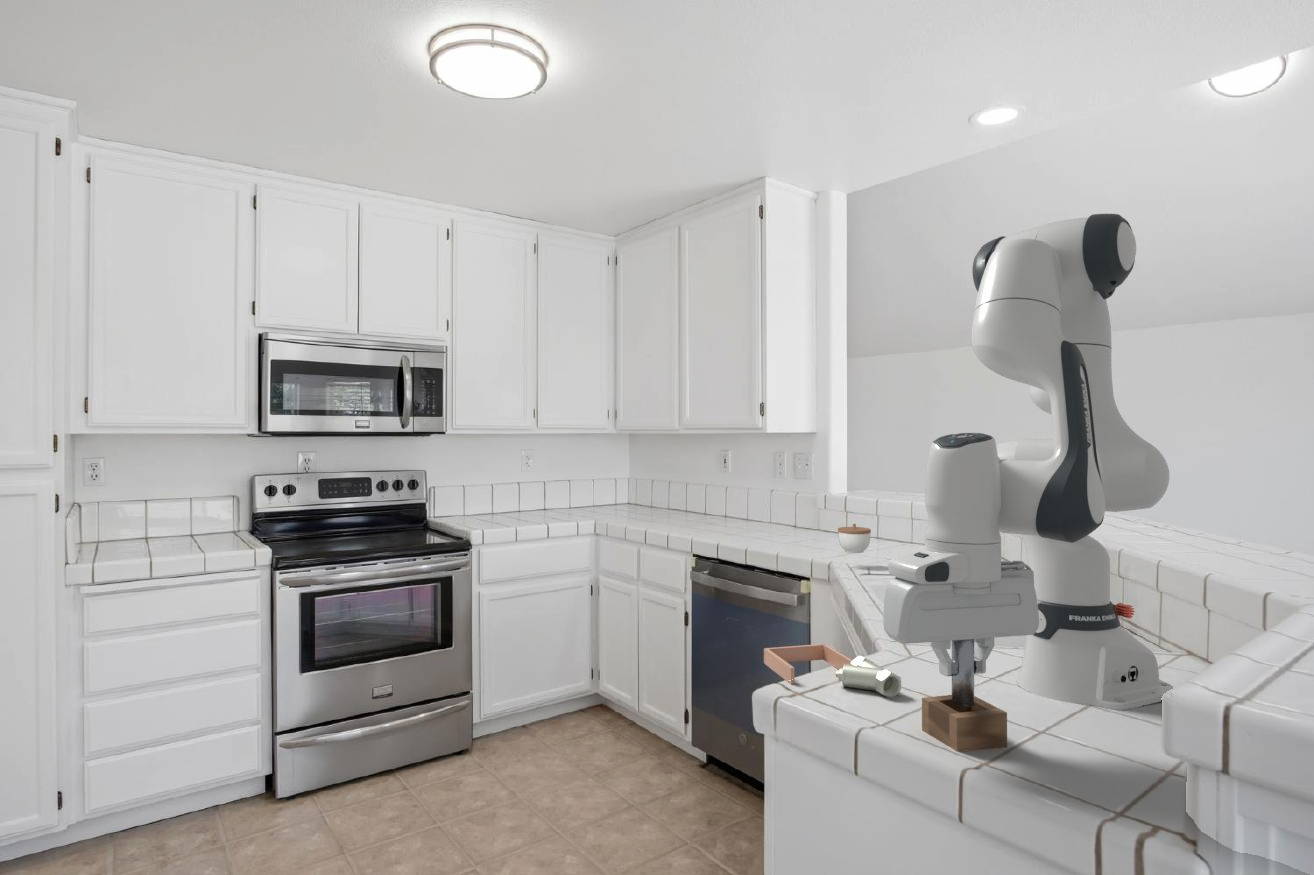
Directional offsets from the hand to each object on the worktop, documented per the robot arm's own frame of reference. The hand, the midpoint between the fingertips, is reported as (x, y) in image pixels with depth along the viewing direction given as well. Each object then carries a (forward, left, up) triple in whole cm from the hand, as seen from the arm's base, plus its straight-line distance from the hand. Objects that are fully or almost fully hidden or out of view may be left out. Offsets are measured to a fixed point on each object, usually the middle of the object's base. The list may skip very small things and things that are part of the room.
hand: (962, 673), depth 90 cm
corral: (+6, -30, -8) cm, 32 cm away
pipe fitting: (+5, -20, -7) cm, 21 cm away
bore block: (0, 0, -8) cm, 8 cm away
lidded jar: (-64, -142, -9) cm, 156 cm away
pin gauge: (0, 0, -4) cm, 4 cm away
